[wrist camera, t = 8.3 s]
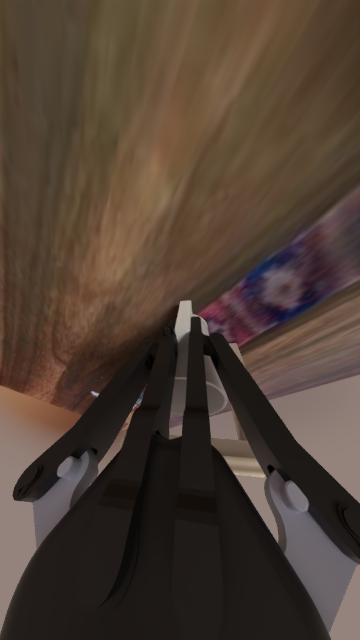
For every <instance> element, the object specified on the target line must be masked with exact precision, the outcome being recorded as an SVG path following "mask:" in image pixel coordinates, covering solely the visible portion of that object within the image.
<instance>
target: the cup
mask: <svg viewBox="0 0 360 640" xmlns="http://www.w3.org/2000/svg"><path fill="white" fill-rule="evenodd" d="M192 316H193V317H197V316H198V315H194V314H192ZM199 317H200V316H199ZM200 318H201V317H200ZM201 327H202V333H203V334H205V335H208V336H210V335H209V332H208V326H207V323H206V321H205V320H204V319H203V318H201ZM204 363H205V375H206V387H207V400H208V411H209V415H212V414H215V413H218V412H219V411H221V410H222V409H224V408H225V406H226V405H227V401H228V399H227V395H226V392H225V390H224V387H223V385H222V383H221V381H220V378H219V376H218V374H217V372H216V369H215V367H214V365H213V363H212V361H211V358H210V356H206V355H204ZM187 364H188V349H179V348H178V358H177V366H176V373H175V381H174V389H173V396H172V404H171V412H170V413H172V414H175V415H180V416H183V413H184V410H185V401H186V383H187Z"/></svg>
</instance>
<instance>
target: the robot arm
mask: <svg viewBox="0 0 360 640" xmlns="http://www.w3.org/2000/svg"><path fill="white" fill-rule="evenodd" d="M160 330H161V333H162V337H161V338H158V339H155V338H154V337H147V338H145V339H144V340H143V341H142V342H141V344H140V345H139V346H138V347H137V348H136V350H135V351H134V352H133V353H132V355H131V356H130V357H129V358H128V360H127V361H126V362H125V363H124V365H123V366H122V367H121V368H120V369H119V371H118V372H117V373H116V374H115V376H114V377H113V378H112V379H111V381H110V382H109V383H108V384H107V386H106V387H105V388H104V389H103V390H102V392H101V393H100V394H99V395H98V397H97V398H96V399H95V400H94V402H93V403H92V404H91V405H90V406H89V408H88V409H87V410H86V411H85V413H84V414H83V415H82V416H81V418H80V419H79V420H78V421H77V423H76V424H75V425H74V426H73V427H72V428H71V429H70V430H69V431H68V432H67V433H65V434H64V435H63V436H62V437H61V438H60V439H59V440H58V441H56V442H55V443H54V444H53V445H52V446H51V447H50V448H49V449H47V450H46V451H45V452H44V453H43V454H42V455H41V456H40V457H39V458H37V459H36V460H35V461H34V462H33V463H32V464H31V465H30V466H29V467H28V468H27V469H26V470H25V471H24V472H23V474H22V475H21V477H20V478H19V479H18V482H17V483H16V485H15V487H14V491H13V498H14V500H16V501H26V502H31V503H33V510H34V522H35V536H36V547H37V550H36V552H35V553H34V555H33V557H32V558H31V560H30V562H29V563H28V565H27V567H26V569H25V571H24V573H23V575H22V577H21V579H20V581H19V583H18V585H17V588H16V590H15V592H14V595H13V597H12V600H11V602H10V605H9V608H8V610H7V614H6V617H5V621H4V624H3V627H2V630H1V634H0V640H331V638H330V636H329V632H330V630H331V627H332V625H333V622H334V620H335V617H336V615H337V612H338V610H339V607H340V605H341V602H342V600H343V598H344V595H345V593H346V590H347V587H348V585H349V583H350V580H351V578H352V575H353V573H354V571H355V568H356V567H357V565H360V503H359V502H358V501H357V500H355V499H354V498H353V497H352V496H351V495H350V494H349V493H348V492H347V491H346V490H345V489H344V488H343V487H342V486H341V485H340V484H339V483H338V482H337V481H336V480H335V479H334V478H333V477H332V476H331V475H330V474H329V473H328V472H327V471H326V470H325V469H324V468H323V467H322V466H321V465H320V464H319V463H318V462H317V461H316V460H315V459H314V458H313V457H312V456H311V455H310V454H309V453H308V452H306V450H305V449H303V447H301V445H299V444H298V443H297V441H296V440H295V439H294V437H293V436H292V434H291V433H290V431H289V430H288V428H287V427H286V426H285V424H284V423H283V421H282V420H281V419H280V417H279V416H278V414H277V413H276V411H275V410H274V408H273V407H272V405H271V404H270V403H269V401H268V400H267V398H266V397H265V395H264V394H263V392H262V391H261V390H260V388H259V387H258V385H257V384H256V382H255V381H254V380H253V378H252V377H251V375H250V374H249V372H248V371H247V369H246V368H245V367H244V365H243V364H242V362H241V361H240V359H239V358H238V356H237V355H236V354H235V352H234V351H233V349H232V348H231V346H230V345H229V343H228V342H227V341H226V339H225V338H224V336H223V335H222V334H220V333H213V334H211V335H210V336H208V335H205V334H203V333H202V327H201V318H200V317H199V316H197V317H193V316H192V306H191V300H190V301H180V306H179V311H178V315H177V318H174V319H170V320H169V322H168V325H167V326H164V327H162V328H161V329H160ZM178 348H179V349H188V364H187V383H186V401H185V410H184V413H183V427H182V436H181V437H177V438H174V439H169V419H170V412H171V404H172V396H173V389H174V381H175V373H176V366H177V358H178ZM204 355H206V356H210V358H211V361H212V363H213V365H214V367H215V369H216V372H217V374H218V376H219V378H220V381H221V383H222V385H223V387H224V390H225V392H226V394H227V396H228V398H229V401H230V403H231V405H232V407H233V410H234V412H235V414H236V416H237V418H238V421H239V423H240V425H241V427H242V430H243V432H244V434H245V436H246V438H247V441H248V443H249V445H250V447H251V450H252V452H253V454H254V456H255V458H256V460H257V462H258V463H259V465H260V467H261V469H262V470H263V472H264V474H265V475H266V477H267V479H266V481H265V486H264V490H265V496H266V499H267V502H268V504H269V506H270V508H271V510H272V513H273V515H274V517H275V520H276V523H277V527H278V534H279V541H278V543H277V542H276V540H275V538H274V537H273V535H272V534H271V532H270V530H269V529H268V527H267V526H266V524H265V522H264V521H263V519H262V518H261V516H260V514H259V513H258V511H257V510H256V508H255V506H254V505H253V503H252V502H251V500H250V498H249V497H248V495H247V494H246V492H245V490H244V489H243V487H242V486H241V484H240V482H239V481H238V479H237V478H236V476H235V474H234V473H233V471H232V470H231V468H230V466H229V465H228V463H227V462H226V460H225V459H224V457H223V456H222V454H221V453H220V452H219V451H218V450H217V449H216V448H215V447H214V446H213V445H211V435H210V422H209V411H208V400H207V387H206V375H205V363H204ZM146 383H147V386H146V389H145V392H144V395H143V398H142V401H141V404H140V407H139V408H137V409H136V410H135V411H134V413H133V415H132V418H131V421H130V424H129V427H128V430H127V433H126V436H125V439H124V442H123V445H122V448H121V450H120V451H119V452H118V453H117V454H116V456H115V457H114V458H113V459H112V460H111V461H110V463H109V464H108V465H107V466H106V467H105V469H104V470H103V471H102V472H101V473H100V474H99V476H98V477H97V475H98V463H99V462H100V461H101V460H102V458H103V457H104V456H105V454H106V453H107V451H108V449H109V448H110V447H111V445H112V444H113V442H114V440H115V439H116V437H117V435H118V433H119V431H120V430H121V428H122V426H123V424H124V423H125V421H126V419H127V417H128V415H129V414H130V412H131V410H132V408H133V406H134V405H135V403H136V401H137V399H138V398H139V396H140V394H141V392H142V390H143V389H144V387H145V385H146ZM96 477H97V478H96ZM91 483H92V484H91ZM90 484H91V485H90ZM89 485H90V486H89Z"/></svg>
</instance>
